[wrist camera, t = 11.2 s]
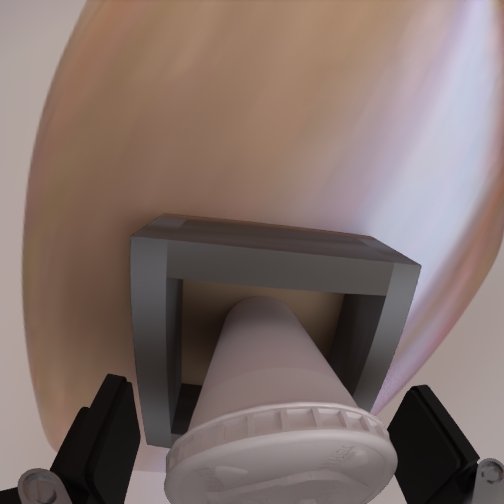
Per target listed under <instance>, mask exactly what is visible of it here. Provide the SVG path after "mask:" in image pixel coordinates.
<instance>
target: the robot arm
mask: <svg viewBox="0 0 504 504" xmlns="http://www.w3.org/2000/svg"><path fill="white" fill-rule="evenodd" d="M387 431H388V433H389V439H390V441H391V443H392V445H393V447H394V449H395V451H396V454H397V459H398V463H397V468H396V471H395V473H394V475H395V477H396V479H397V481H398V484H399V486H400V488H401V490H402V492H403V495H404V497H405V500H406V502H407V504H504V465H503V464H502V463H501V462H500V461H498V460H496V459H492V458H488V459H484V460H483V461H481V462H480V463H479V464H477V461H478V460H479V459H480V457H479V455H478V454H477V453H476V451H475V450H474V448H473V447H472V445H471V444H470V442H469V441H468V440H467V438H466V437H465V435H464V434H463V433H462V431H461V430H460V428H459V427H458V425H457V424H456V423H455V421H454V420H453V418H452V417H451V416H450V414H449V413H448V412H447V410H446V409H445V408H444V406H443V405H442V404H441V402H440V401H439V399H438V398H437V397H436V396H435V394H434V393H433V391H432V390H431V389H430V387H428V385H419V386H413V387H411V388H410V390H409V391H407V393H406V394H405V396H404V398H403V400H402V402H401V404H400V406H399V408H398V410H397V412H396V414H395V416H394V418H393V419H392V421H391V423H390V425H389V426H388V428H387ZM140 438H141V436H140V429H139V424H138V419H137V413H136V407H135V401H134V395H133V388H132V383H131V382H127V379H126V377H123V376H118V375H113V374H107V376H106V377H105V379H104V381H103V383H102V385H101V387H100V389H99V391H98V393H97V395H96V397H95V398H94V400H93V402H92V404H91V406H90V408H88V407H82V408H81V409H80V411H79V412H78V414H77V416H76V418H75V420H74V422H73V424H72V426H71V427H70V429H69V431H68V433H67V435H66V437H65V439H64V441H63V443H62V445H61V447H60V449H59V452H58V454H57V456H56V458H55V460H54V462H53V464H52V466H51V468H50V470H46V469H41V468H37V469H31V470H28V471H26V472H25V473H24V474H22V476H21V477H20V479H19V481H18V486H17V487H15V488H11V489H7V490H3V491H0V504H124V501H125V497H126V493H127V489H128V485H129V481H130V477H131V474H132V470H133V466H134V462H135V459H136V455H137V451H138V448H139V444H140Z"/></svg>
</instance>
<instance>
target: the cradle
mask: <svg viewBox="0 0 504 504" xmlns="http://www.w3.org/2000/svg"><path fill="white" fill-rule="evenodd" d="M420 270H421V265H420V264H418V263H416V262H415V261H413V260H411V259H410V258H408V257H406V256H404V255H403V254H401V253H399V252H398V251H396V250H394V249H392V248H391V247H389V246H387V245H386V244H384V243H382V242H380V241H378V240H377V239H375V238H373V237H371V236H364V235H356V234H348V233H341V232H333V231H325V230H317V229H308V228H300V227H291V226H283V225H274V224H265V223H256V222H246V221H237V220H227V219H217V218H207V217H196V216H185V215H174V214H163V215H161V216H160V217H158V218H157V219H155V220H154V221H152V222H151V223H149V224H148V225H146V226H145V227H143V228H142V229H140V230H139V231H137V232H136V233H134V234H133V235H132V236H131V241H130V277H131V309H132V327H133V341H134V353H135V363H136V373H137V382H138V390H139V397H140V405H141V411H142V418H143V424H144V430H145V436H146V441H147V445H153V446H159V447H165V448H172V446H173V444H174V443H175V441H176V440H177V439H178V438H180V437H181V436H183V435H184V434H185V433H187V432H188V428H189V425H190V422H191V419H192V415H193V412H194V410H195V408H196V405H197V402H198V399H199V396H200V393H201V390H202V387H203V384H204V381H205V378H206V375H207V372H208V369H209V366H210V363H211V360H212V357H213V354H214V351H215V348H216V345H217V342H218V339H219V336H220V333H221V331H222V328H223V325H224V322H225V319H226V316H227V314H228V313H229V311H230V310H231V309H232V308H233V307H234V306H235V305H236V304H237V303H239V302H241V301H242V300H245V299H247V298H250V297H255V296H269V297H273V298H276V299H278V300H280V301H282V302H284V303H285V304H286V305H287V306H288V307H289V308H290V309H291V310H292V312H293V313H294V315H295V316H296V318H297V319H298V320H299V322H300V323H301V325H302V326H303V328H304V329H305V331H306V332H307V333H308V335H309V336H310V338H311V339H312V341H313V342H314V344H315V345H316V346H317V348H318V349H319V351H320V352H321V354H322V355H323V357H324V358H325V360H326V361H327V362H328V364H329V365H330V367H331V368H332V370H333V371H334V373H335V374H336V375H337V377H338V378H339V380H340V381H341V383H342V384H343V386H344V387H345V388H346V389H347V391H348V392H349V394H350V395H351V397H352V398H353V400H354V401H355V403H356V404H357V406H358V407H359V408H362V409H364V410H365V411H367V412H369V413H370V411H371V409H372V407H373V404H374V402H375V400H376V398H377V395H378V393H379V391H380V389H381V386H382V384H383V381H384V379H385V377H386V374H387V372H388V369H389V367H390V364H391V362H392V359H393V356H394V354H395V351H396V348H397V345H398V343H399V340H400V337H401V334H402V331H403V328H404V325H405V322H406V319H407V316H408V313H409V310H410V306H411V303H412V300H413V296H414V293H415V289H416V285H417V282H418V278H419V274H420Z"/></svg>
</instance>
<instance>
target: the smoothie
mask: <svg viewBox="0 0 504 504" xmlns="http://www.w3.org/2000/svg"><path fill="white" fill-rule="evenodd" d="M397 463H398V459H397V454H396V451H395V449H394V447H393V445H392V443H391V441H390V439H389V433H388V431H387V429H386V428H385V426H384V425H383V423H382V421H381V420H380V419H379V418H377V417H375V416H374V415H372V414H370V413H369V412H367V411H365V410H364V409H362V408H359V407H358V406H357V404H356V403H355V401H354V400H353V398H352V397H351V395H350V394H349V392H348V391H347V389H346V388H345V387H344V386H343V384H342V383H341V381H340V380H339V378H338V377H337V375H336V374H335V373H334V371H333V370H332V368H331V367H330V365H329V364H328V362H327V361H326V360H325V358H324V357H323V355H322V354H321V352H320V351H319V349H318V348H317V346H316V345H315V344H314V342H313V341H312V339H311V338H310V336H309V335H308V333H307V332H306V331H305V329H304V328H303V326H302V325H301V323H300V322H299V320H298V319H297V318H296V316H295V315H294V313H293V312H292V310H291V309H290V308H289V307H288V306H287V305H286V304H285V303H284V302H282V301H280V300H278V299H276V298H273V297H269V296H255V297H250V298H247V299H245V300H242V301H241V302H239V303H237V304H236V305H235V306H234V307H233V308H232V309H231V310H230V311H229V313H228V314H227V316H226V319H225V322H224V325H223V328H222V331H221V333H220V336H219V339H218V342H217V345H216V348H215V351H214V354H213V357H212V360H211V363H210V366H209V369H208V372H207V375H206V378H205V381H204V384H203V387H202V390H201V393H200V396H199V399H198V402H197V405H196V408H195V410H194V412H193V415H192V419H191V422H190V425H189V428H188V432H187V433H185V434H184V435H183V436H181V437H180V438H178V439H177V440H176V441H175V443H174V444H173V446H172V448H171V449H170V451H169V452H168V454H167V456H166V473H167V474H166V479H165V483H164V491H165V495H166V497H167V499H168V500H169V502H170V503H171V504H367V503H368V502H370V501H371V500H372V499H374V498H375V497H376V496H377V495H378V494H379V493H380V492H381V491H382V490H383V489H384V488H385V487H386V485H388V483H389V482H390V480H391V479H392V477H393V475H394V473H395V471H396V468H397Z"/></svg>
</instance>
